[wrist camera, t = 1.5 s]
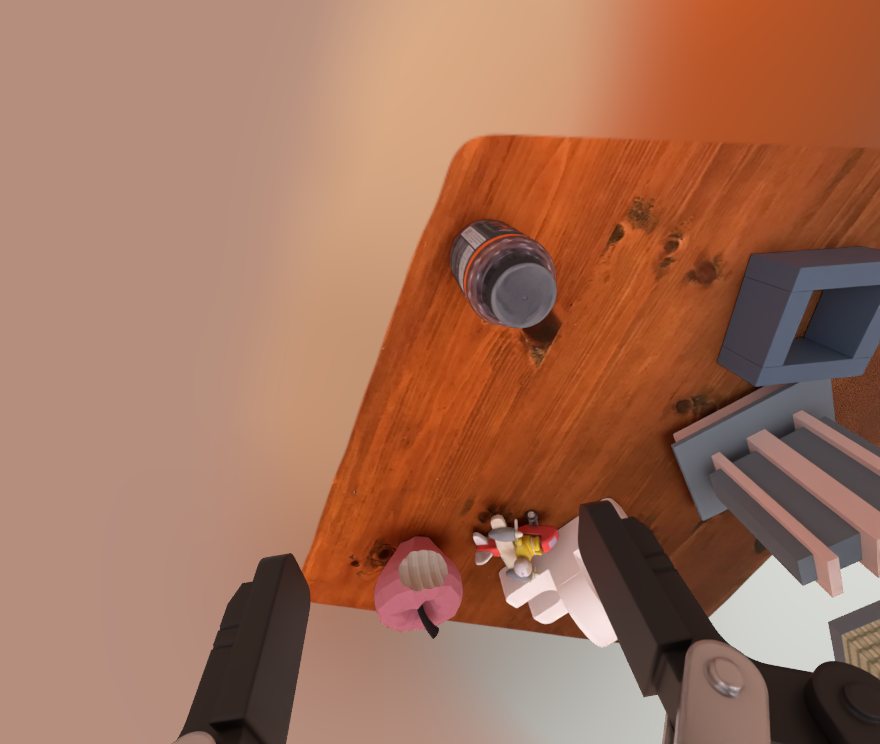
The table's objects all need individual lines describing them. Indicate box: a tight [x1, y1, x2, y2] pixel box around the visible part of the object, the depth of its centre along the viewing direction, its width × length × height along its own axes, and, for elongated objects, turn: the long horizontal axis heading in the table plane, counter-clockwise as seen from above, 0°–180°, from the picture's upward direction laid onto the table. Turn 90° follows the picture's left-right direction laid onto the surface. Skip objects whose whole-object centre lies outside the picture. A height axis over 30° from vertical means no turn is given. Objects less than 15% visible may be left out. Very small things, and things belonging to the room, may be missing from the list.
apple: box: [374, 536, 463, 639], centre depth 45 cm, size 10×9×10 cm
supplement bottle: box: [450, 220, 557, 328], centre depth 29 cm, size 6×6×11 cm
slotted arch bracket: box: [499, 498, 628, 647], centre depth 49 cm, size 10×18×11 cm, turn 133°
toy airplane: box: [473, 511, 559, 582], centre depth 47 cm, size 9×9×6 cm
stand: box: [717, 246, 880, 387], centre depth 38 cm, size 11×11×5 cm
